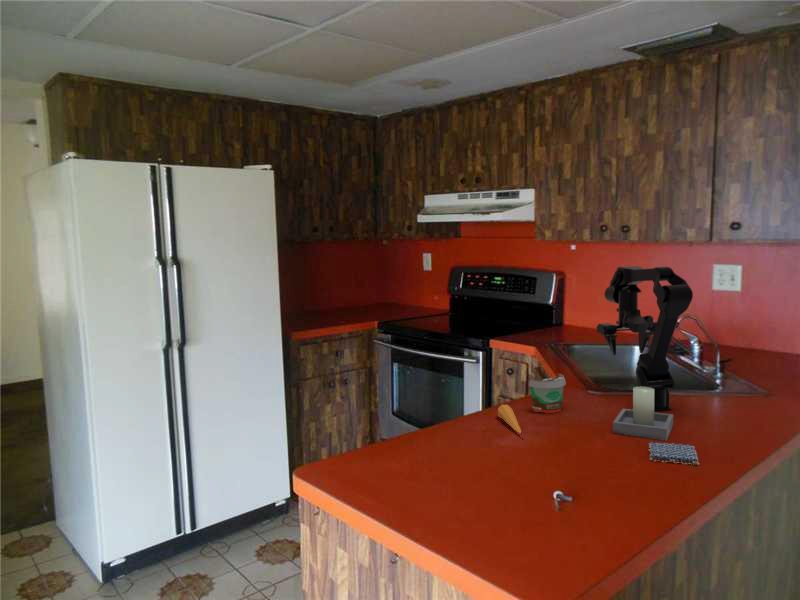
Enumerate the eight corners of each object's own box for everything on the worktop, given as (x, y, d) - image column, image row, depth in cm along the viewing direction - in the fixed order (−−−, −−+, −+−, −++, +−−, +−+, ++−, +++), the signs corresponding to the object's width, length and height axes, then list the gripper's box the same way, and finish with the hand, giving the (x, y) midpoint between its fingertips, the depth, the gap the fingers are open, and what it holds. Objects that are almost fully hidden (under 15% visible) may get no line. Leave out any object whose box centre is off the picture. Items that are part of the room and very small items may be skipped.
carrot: (499, 419, 173) (493, 406, 172) (512, 412, 173) (507, 399, 172) (518, 450, 153) (512, 436, 152) (534, 443, 153) (528, 429, 152)
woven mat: (694, 451, 142) (694, 443, 142) (700, 468, 132) (700, 459, 132) (647, 447, 146) (647, 439, 145) (649, 463, 136) (649, 455, 135)
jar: (628, 425, 157) (629, 388, 156) (640, 421, 160) (640, 385, 159) (646, 430, 153) (646, 392, 152) (658, 425, 156) (658, 389, 155)
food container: (542, 417, 170) (542, 383, 169) (529, 412, 175) (528, 379, 174) (575, 410, 175) (574, 377, 174) (560, 405, 181) (560, 373, 180)
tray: (612, 433, 155) (612, 422, 154) (622, 418, 166) (622, 408, 165) (666, 440, 148) (666, 429, 148) (673, 425, 159) (673, 414, 159)
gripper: (612, 310, 178) (612, 361, 179) (670, 307, 180) (669, 357, 182) (595, 306, 189) (595, 354, 190) (650, 303, 191) (649, 350, 193)
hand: (627, 354), depth 189 cm, fingers open, 9 cm apart
